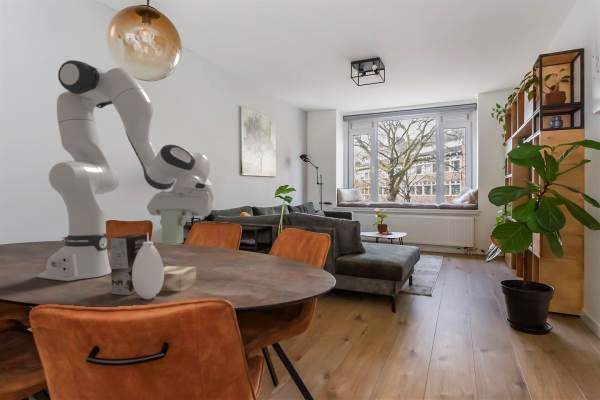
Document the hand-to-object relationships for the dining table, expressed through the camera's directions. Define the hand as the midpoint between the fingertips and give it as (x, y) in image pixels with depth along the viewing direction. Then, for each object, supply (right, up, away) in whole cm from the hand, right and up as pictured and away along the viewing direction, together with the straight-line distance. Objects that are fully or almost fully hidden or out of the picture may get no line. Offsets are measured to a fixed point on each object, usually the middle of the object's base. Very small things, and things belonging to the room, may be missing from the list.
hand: (171, 224), depth 106 cm
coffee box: (-11, -19, -3) cm, 22 cm away
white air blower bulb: (-2, -20, -11) cm, 23 cm away
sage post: (0, -6, +1) cm, 6 cm away
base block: (0, -19, +1) cm, 19 cm away
